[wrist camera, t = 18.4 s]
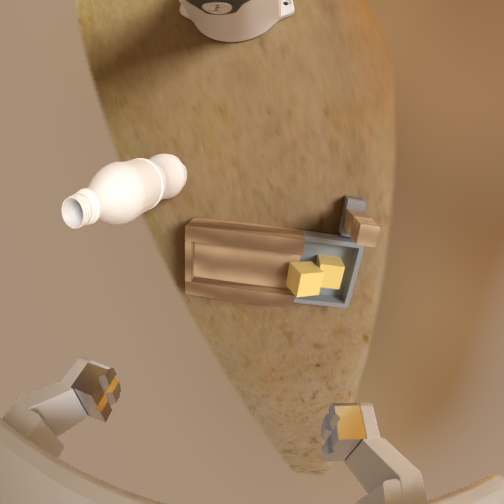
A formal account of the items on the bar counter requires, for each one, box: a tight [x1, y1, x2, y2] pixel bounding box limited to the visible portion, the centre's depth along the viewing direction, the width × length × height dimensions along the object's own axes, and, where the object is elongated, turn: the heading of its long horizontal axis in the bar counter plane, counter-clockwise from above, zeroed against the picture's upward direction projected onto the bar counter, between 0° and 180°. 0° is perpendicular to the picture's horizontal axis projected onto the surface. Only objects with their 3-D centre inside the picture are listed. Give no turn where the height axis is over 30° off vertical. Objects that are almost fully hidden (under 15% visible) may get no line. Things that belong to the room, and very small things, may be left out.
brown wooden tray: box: [185, 217, 305, 309], centre depth 46 cm, size 12×18×5 cm, turn 84°
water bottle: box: [61, 154, 187, 229], centre depth 32 cm, size 7×7×25 cm
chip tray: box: [294, 230, 364, 308], centre depth 46 cm, size 12×10×3 cm
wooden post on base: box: [338, 196, 380, 247], centre depth 39 cm, size 6×3×10 cm, turn 174°
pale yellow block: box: [286, 261, 324, 297], centre depth 43 cm, size 4×4×4 cm
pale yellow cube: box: [316, 254, 345, 289], centre depth 45 cm, size 4×4×4 cm
